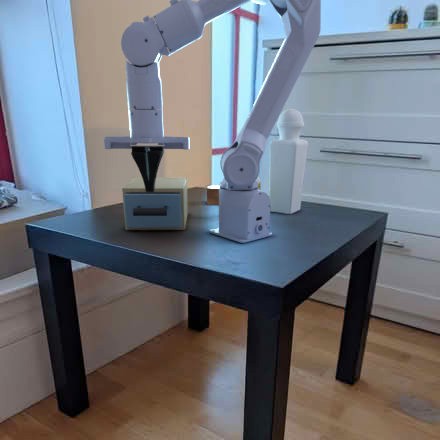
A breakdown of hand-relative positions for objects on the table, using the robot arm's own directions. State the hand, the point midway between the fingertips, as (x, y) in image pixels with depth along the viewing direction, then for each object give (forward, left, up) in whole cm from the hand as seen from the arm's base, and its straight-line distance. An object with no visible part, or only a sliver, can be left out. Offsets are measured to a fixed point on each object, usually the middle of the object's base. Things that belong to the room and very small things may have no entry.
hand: (150, 191), depth 76 cm
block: (+14, -28, -8) cm, 32 cm away
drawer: (+4, -4, -7) cm, 9 cm away
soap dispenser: (-3, -35, -8) cm, 36 cm away
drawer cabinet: (+8, -7, -8) cm, 13 cm away
